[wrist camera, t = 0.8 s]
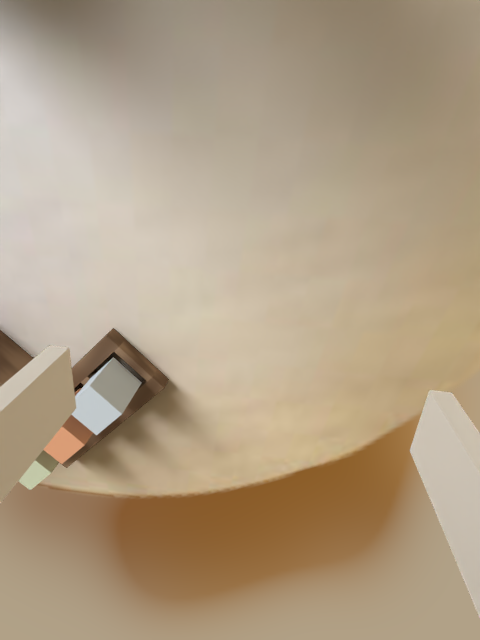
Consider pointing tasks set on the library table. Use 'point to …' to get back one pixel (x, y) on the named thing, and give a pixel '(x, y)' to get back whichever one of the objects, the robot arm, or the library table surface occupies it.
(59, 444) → the orange block
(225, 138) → the library table surface
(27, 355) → the figurine holder
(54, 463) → the pale green block
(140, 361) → the board
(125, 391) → the pale blue block
